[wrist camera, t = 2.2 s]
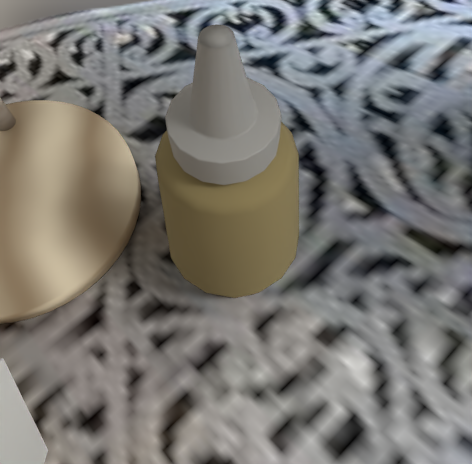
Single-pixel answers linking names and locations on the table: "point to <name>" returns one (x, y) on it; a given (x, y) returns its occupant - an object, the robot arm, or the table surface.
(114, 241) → the round beige plate
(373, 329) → the table surface
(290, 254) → the squeeze bottle
